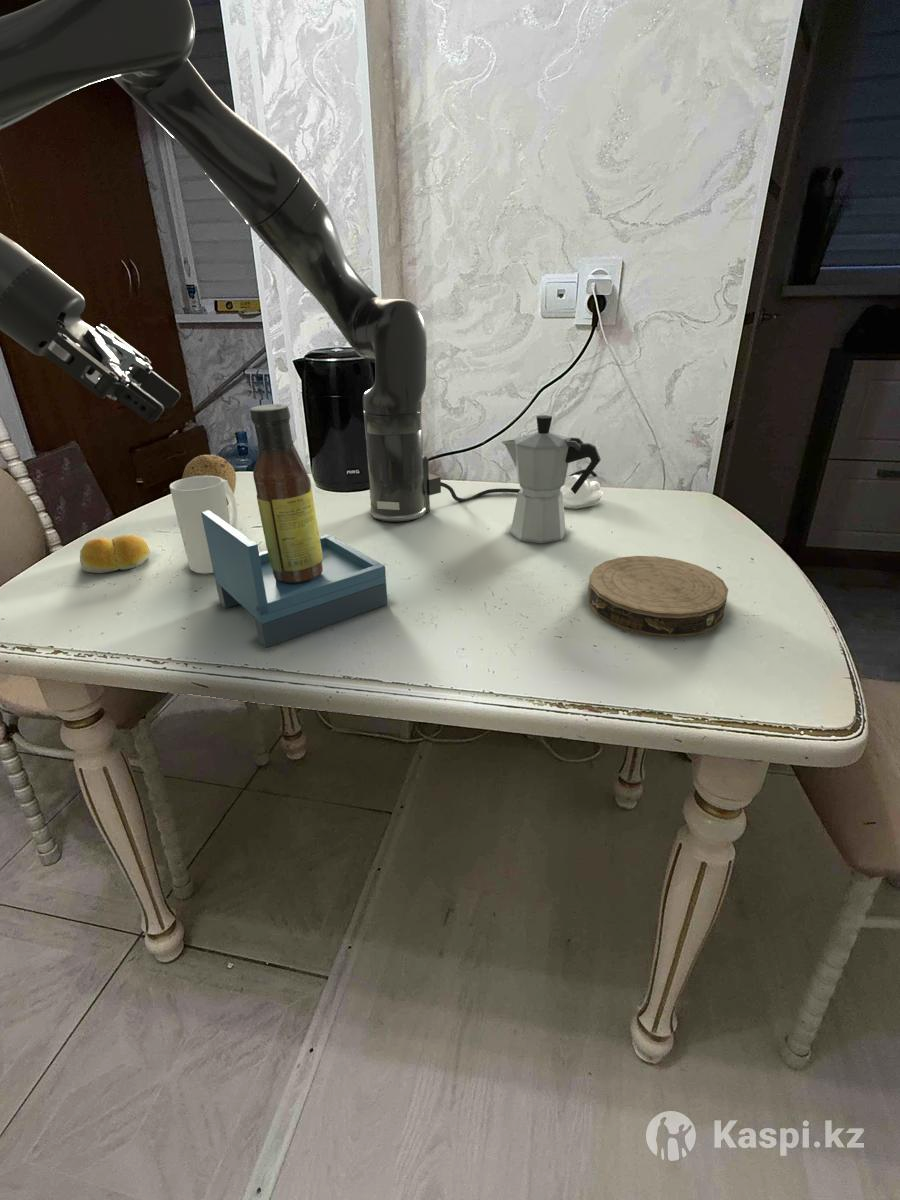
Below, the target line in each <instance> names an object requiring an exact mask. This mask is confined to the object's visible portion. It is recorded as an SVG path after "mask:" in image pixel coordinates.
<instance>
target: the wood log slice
mask: <svg viewBox="0 0 900 1200" xmlns="http://www.w3.org/2000/svg"><path fill="white" fill-rule="evenodd" d="M592 569H593V570H592V571H591V572H590V574H589V581H588V593H587V600H588V606H589V607H590V609H591V611H593V613H594V614H595V615H596V616H597V617H599V618H600V619H602V620H604V621H605V622H607V623H608V624H610V625H612V626H615V627H616V628H620V629H623V630H625V631H628V632H631V633H635V634H640V635H644V636H650V637H657V638H658V637H659V638H684V637H693V636H698V635H702V634H704V633H707V632H710V631H712V630H714V629H715V628H716V627H718V626H719V625H720V624H721V623H722V622H723V618H724V615H725V608H726V605H727V599H728V593H729V588H728V586H727V584H726V583H725V581H724V580H723V579H722V578H721V577H719V576H718V575H717V574H715V573H714V572H712V571H710V570H708V569H706V568H704V567H701V566H700V565H697V564H695V563H691V562H687V561H684V560H680V559H676V558H669V557H663V556H656V555H655V556H654V555H653V556H651V555H650V556H649V555H632V556H622V557H621V556H619V557H616V558H612V559H609V560H605V561H604V562H601V563H599V564H598V565H596V566H594V568H592Z"/></svg>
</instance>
